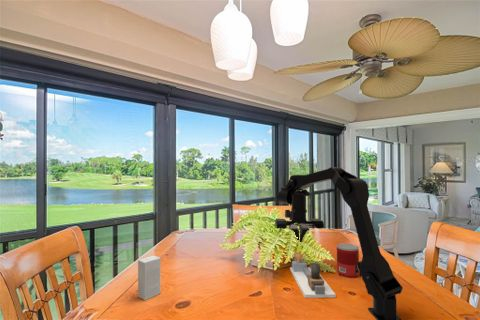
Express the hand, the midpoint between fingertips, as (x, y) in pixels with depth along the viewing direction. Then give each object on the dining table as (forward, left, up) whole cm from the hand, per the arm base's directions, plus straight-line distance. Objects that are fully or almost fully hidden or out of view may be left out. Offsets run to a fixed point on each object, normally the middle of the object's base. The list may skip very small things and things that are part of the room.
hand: (298, 245), depth 105 cm
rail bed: (-9, -2, -11) cm, 14 cm away
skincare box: (-18, +54, -11) cm, 58 cm away
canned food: (-2, -19, -11) cm, 22 cm away
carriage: (-15, -2, -10) cm, 18 cm away
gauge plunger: (0, 0, -6) cm, 6 cm away
